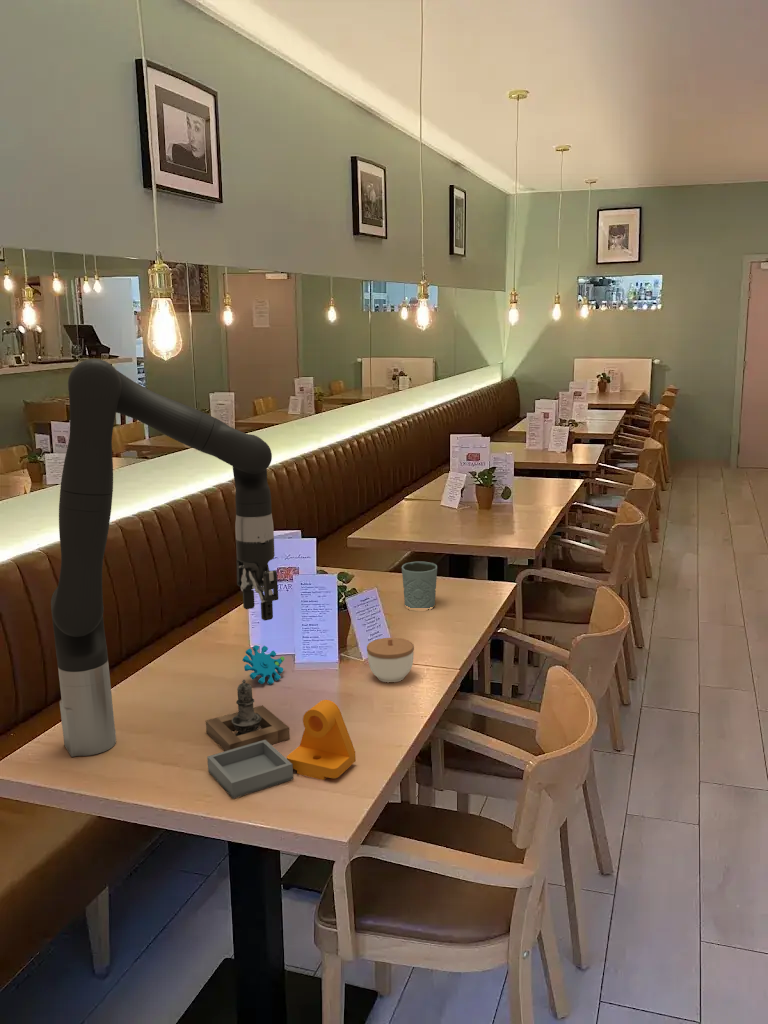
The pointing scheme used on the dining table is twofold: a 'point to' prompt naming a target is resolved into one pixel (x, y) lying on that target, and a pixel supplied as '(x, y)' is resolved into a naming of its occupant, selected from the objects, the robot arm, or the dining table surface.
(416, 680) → the dining table surface
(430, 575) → the green embossed pot
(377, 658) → the lidded jar
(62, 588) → the robot arm
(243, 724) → the dark grey chess piece
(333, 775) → the bracket
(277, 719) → the frame
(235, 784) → the grey tray
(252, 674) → the teal virus toy
